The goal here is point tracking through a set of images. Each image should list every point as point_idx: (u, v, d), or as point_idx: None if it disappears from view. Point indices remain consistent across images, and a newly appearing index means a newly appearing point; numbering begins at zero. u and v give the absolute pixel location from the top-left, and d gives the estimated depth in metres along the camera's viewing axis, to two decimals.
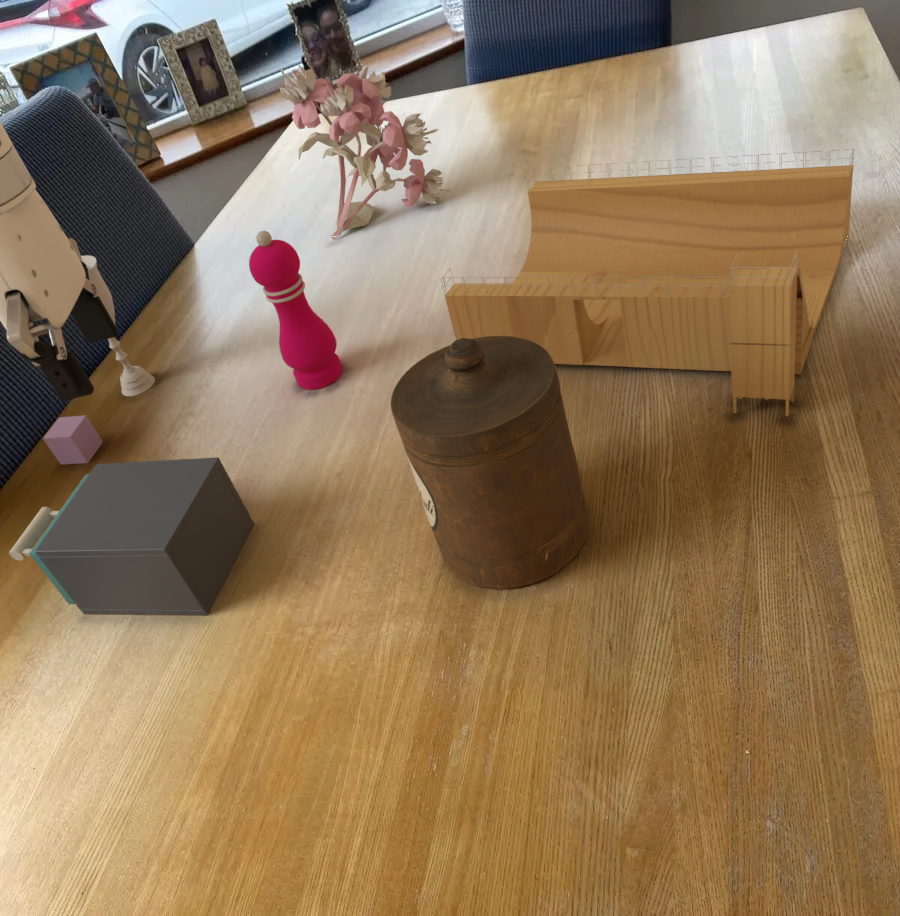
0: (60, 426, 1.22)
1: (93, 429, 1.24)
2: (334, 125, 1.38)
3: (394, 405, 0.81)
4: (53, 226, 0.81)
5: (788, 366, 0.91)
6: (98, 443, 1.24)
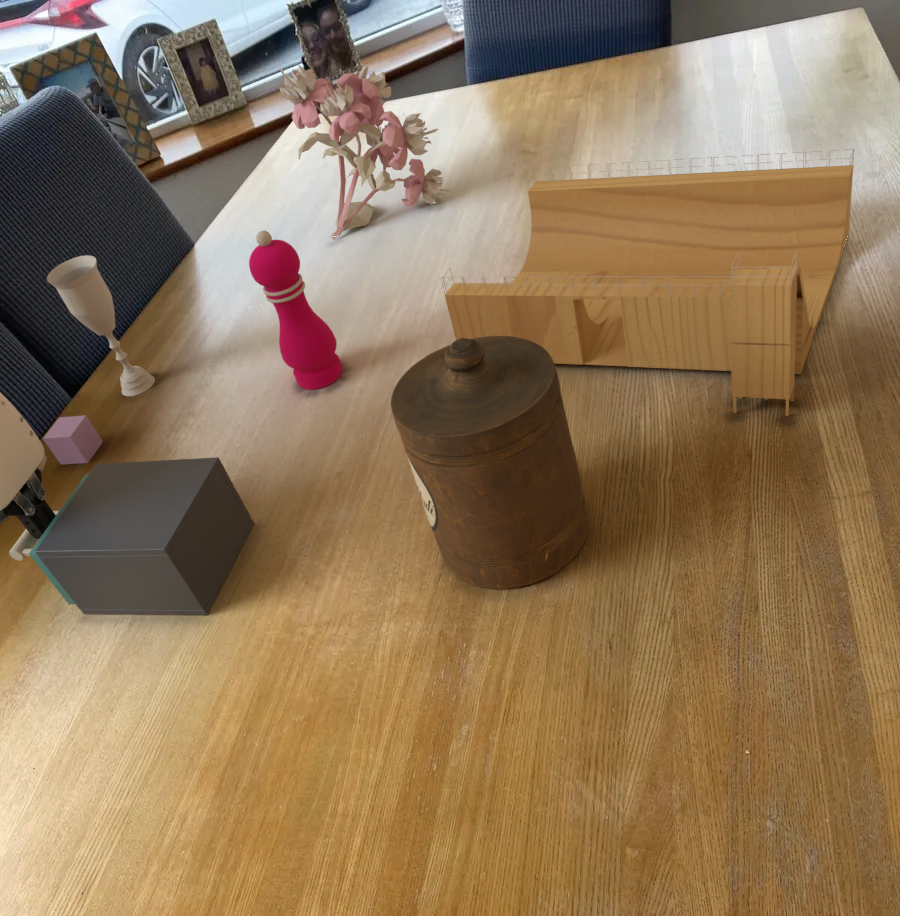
0: (60, 426, 1.22)
1: (93, 429, 1.24)
2: (334, 125, 1.38)
3: (394, 405, 0.81)
4: (11, 421, 0.95)
5: (788, 366, 0.91)
6: (98, 443, 1.24)
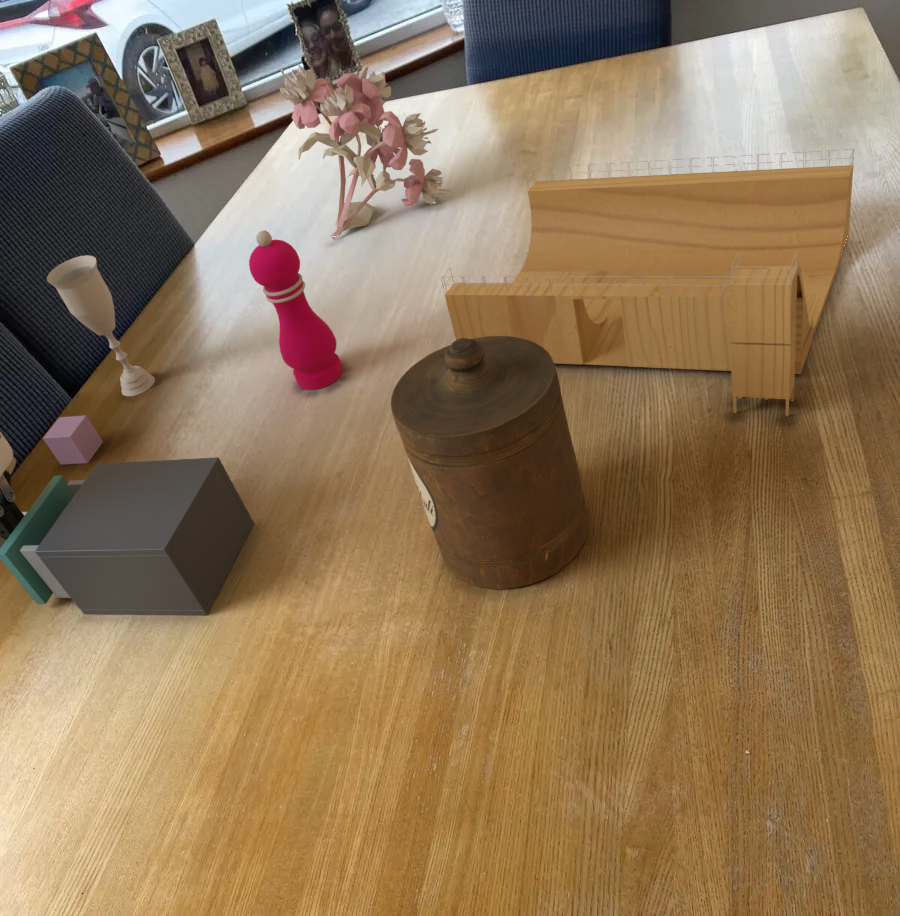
0: (60, 426, 1.22)
1: (93, 429, 1.24)
2: (334, 125, 1.38)
3: (394, 405, 0.81)
4: None
5: (788, 366, 0.91)
6: (98, 443, 1.24)
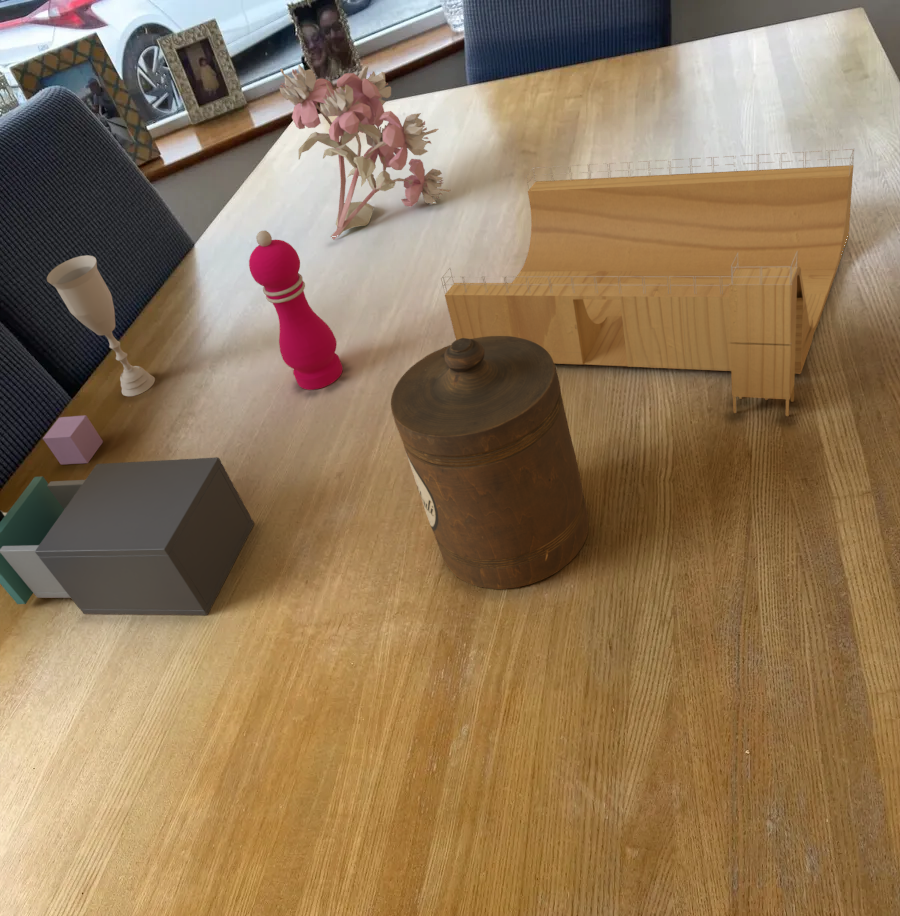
0: (60, 426, 1.22)
1: (93, 429, 1.24)
2: (334, 125, 1.38)
3: (394, 405, 0.81)
4: None
5: (788, 366, 0.91)
6: (98, 443, 1.24)
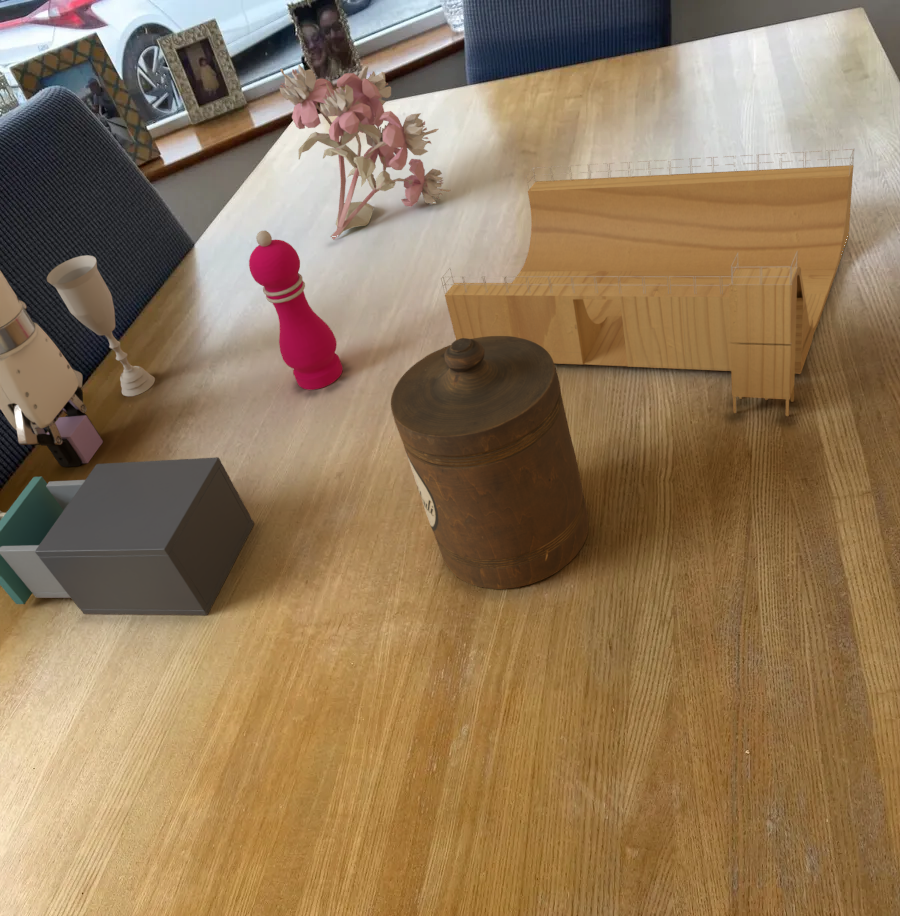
0: (60, 426, 1.22)
1: (93, 429, 1.24)
2: (334, 125, 1.38)
3: (394, 405, 0.81)
4: (52, 355, 1.17)
5: (788, 366, 0.91)
6: (98, 443, 1.24)
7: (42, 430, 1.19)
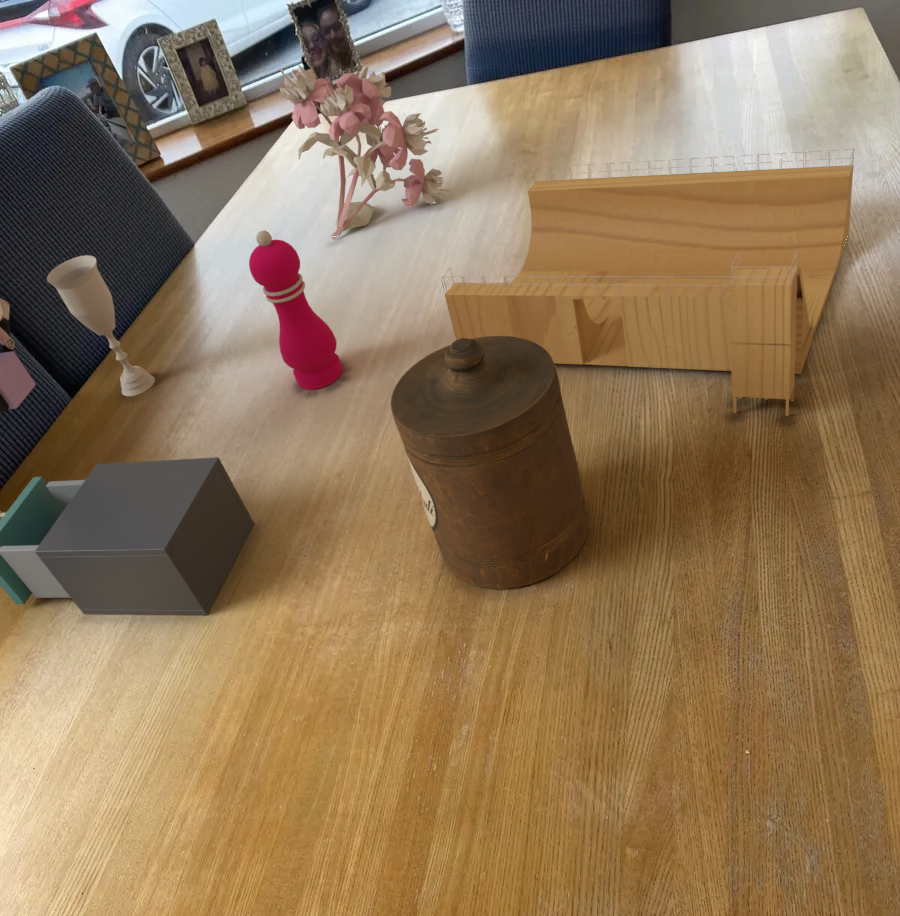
0: None
1: (23, 369, 1.04)
2: (334, 125, 1.38)
3: (394, 405, 0.81)
4: None
5: (788, 366, 0.91)
6: (29, 385, 1.05)
7: None
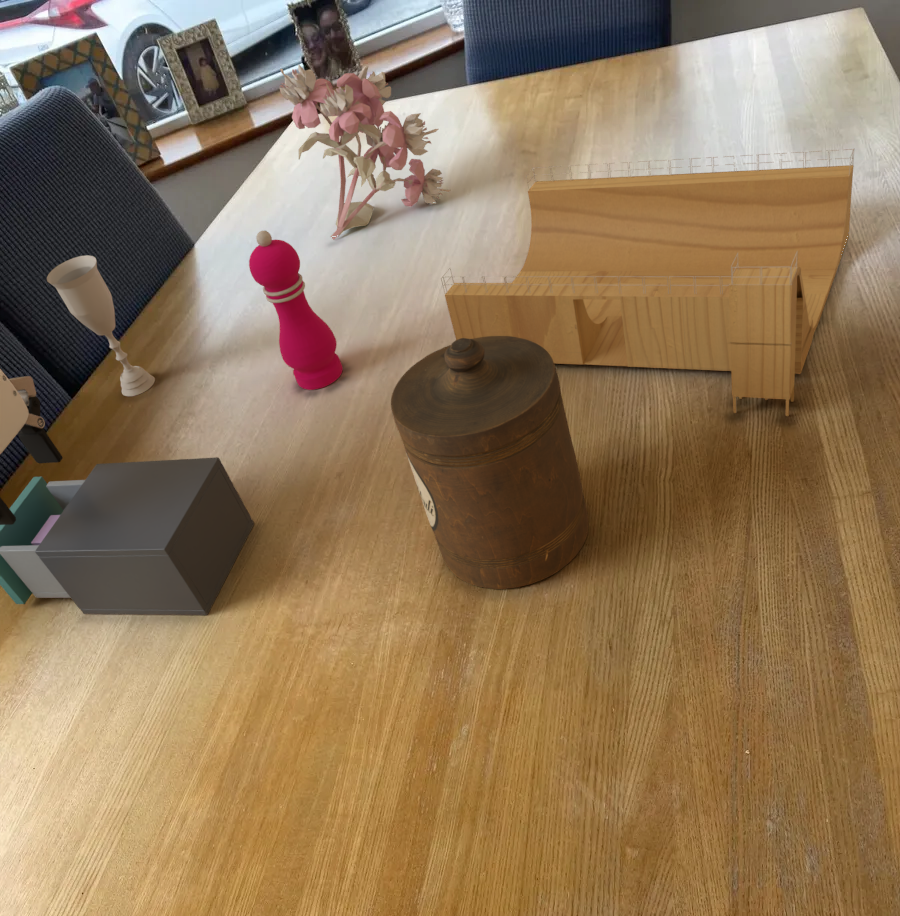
0: None
1: None
2: (334, 125, 1.38)
3: (394, 405, 0.81)
4: None
5: (788, 366, 0.91)
6: None
7: None
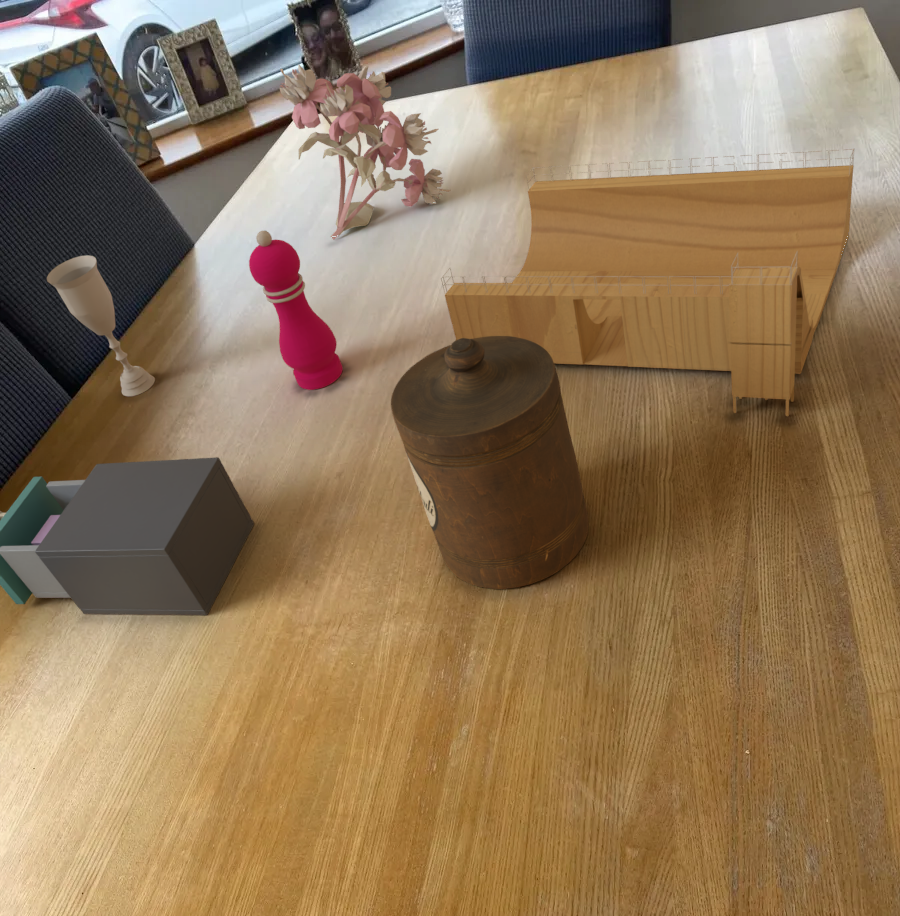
0: None
1: None
2: (334, 125, 1.38)
3: (394, 405, 0.81)
4: None
5: (788, 366, 0.91)
6: None
7: None
